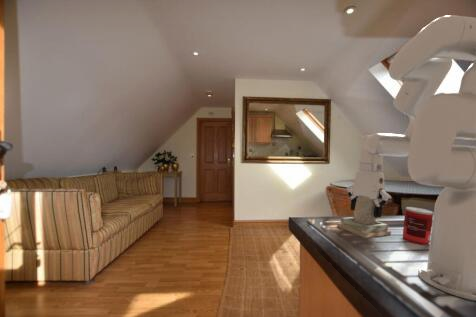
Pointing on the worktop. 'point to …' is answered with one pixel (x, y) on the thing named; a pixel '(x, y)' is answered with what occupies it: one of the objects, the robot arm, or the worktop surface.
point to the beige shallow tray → (364, 228)
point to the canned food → (417, 225)
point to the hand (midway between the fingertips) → (364, 213)
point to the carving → (364, 211)
